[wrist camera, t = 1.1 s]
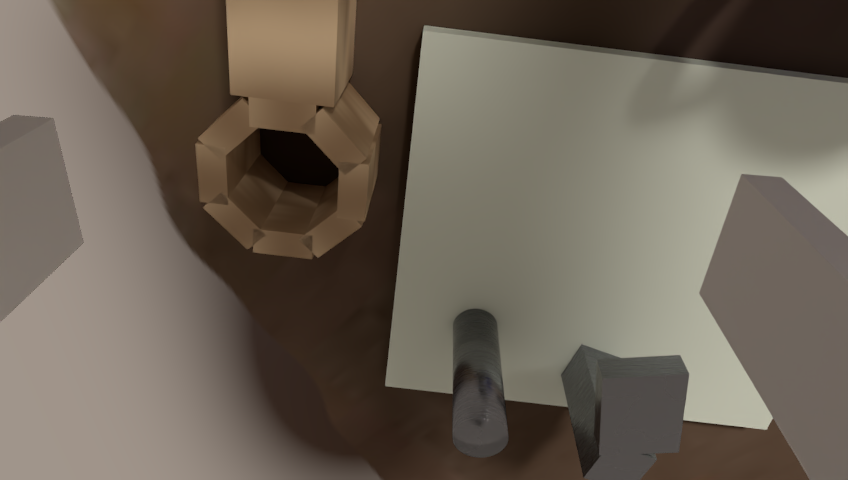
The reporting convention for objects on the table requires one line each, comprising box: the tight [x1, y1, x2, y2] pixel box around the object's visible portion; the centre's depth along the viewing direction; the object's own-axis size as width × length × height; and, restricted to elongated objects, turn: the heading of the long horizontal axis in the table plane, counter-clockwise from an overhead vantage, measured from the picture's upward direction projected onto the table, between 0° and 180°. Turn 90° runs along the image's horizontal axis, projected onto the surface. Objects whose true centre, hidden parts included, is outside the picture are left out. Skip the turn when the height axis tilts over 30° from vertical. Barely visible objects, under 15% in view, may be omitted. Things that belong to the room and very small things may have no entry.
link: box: [195, 0, 382, 259], centre depth 25 cm, size 18×7×5 cm, turn 174°
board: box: [385, 25, 848, 430], centre depth 31 cm, size 20×22×1 cm
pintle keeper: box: [453, 309, 689, 480], centre depth 30 cm, size 7×10×9 cm
